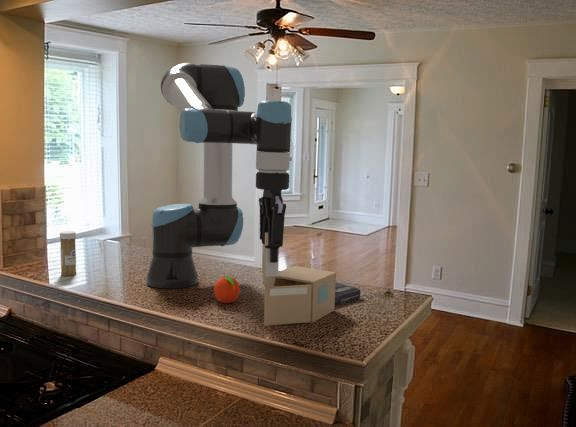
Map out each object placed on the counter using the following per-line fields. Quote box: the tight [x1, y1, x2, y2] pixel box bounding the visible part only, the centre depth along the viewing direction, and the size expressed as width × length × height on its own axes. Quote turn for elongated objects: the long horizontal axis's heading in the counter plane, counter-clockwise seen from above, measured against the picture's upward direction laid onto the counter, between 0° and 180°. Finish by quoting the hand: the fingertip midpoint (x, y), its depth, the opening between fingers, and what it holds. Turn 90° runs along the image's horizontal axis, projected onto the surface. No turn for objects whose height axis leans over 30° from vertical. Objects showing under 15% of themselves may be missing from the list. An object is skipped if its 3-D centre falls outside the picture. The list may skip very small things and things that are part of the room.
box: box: [335, 282, 361, 307], centre depth 151 cm, size 14×4×20 cm
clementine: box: [213, 275, 241, 304], centre depth 141 cm, size 8×7×7 cm
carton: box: [274, 265, 337, 324], centre depth 135 cm, size 12×12×10 cm
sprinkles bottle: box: [59, 230, 77, 277], centre depth 166 cm, size 5×5×14 cm
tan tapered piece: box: [263, 232, 312, 326], centre depth 124 cm, size 12×3×22 cm, turn 107°
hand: (269, 273), depth 123 cm, fingers closed on tan tapered piece, 3 cm apart
